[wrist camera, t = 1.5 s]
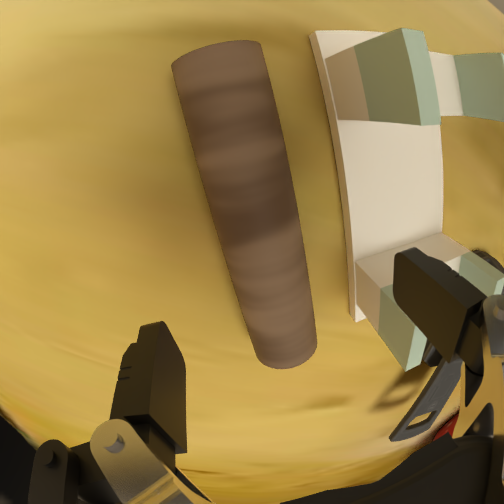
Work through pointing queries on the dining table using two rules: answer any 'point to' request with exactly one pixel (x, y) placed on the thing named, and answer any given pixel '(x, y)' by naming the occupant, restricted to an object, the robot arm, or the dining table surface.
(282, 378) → the dining table surface
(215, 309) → the dining table surface
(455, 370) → the zipper pull
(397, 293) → the robot arm
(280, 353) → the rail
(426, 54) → the white cradle stand
